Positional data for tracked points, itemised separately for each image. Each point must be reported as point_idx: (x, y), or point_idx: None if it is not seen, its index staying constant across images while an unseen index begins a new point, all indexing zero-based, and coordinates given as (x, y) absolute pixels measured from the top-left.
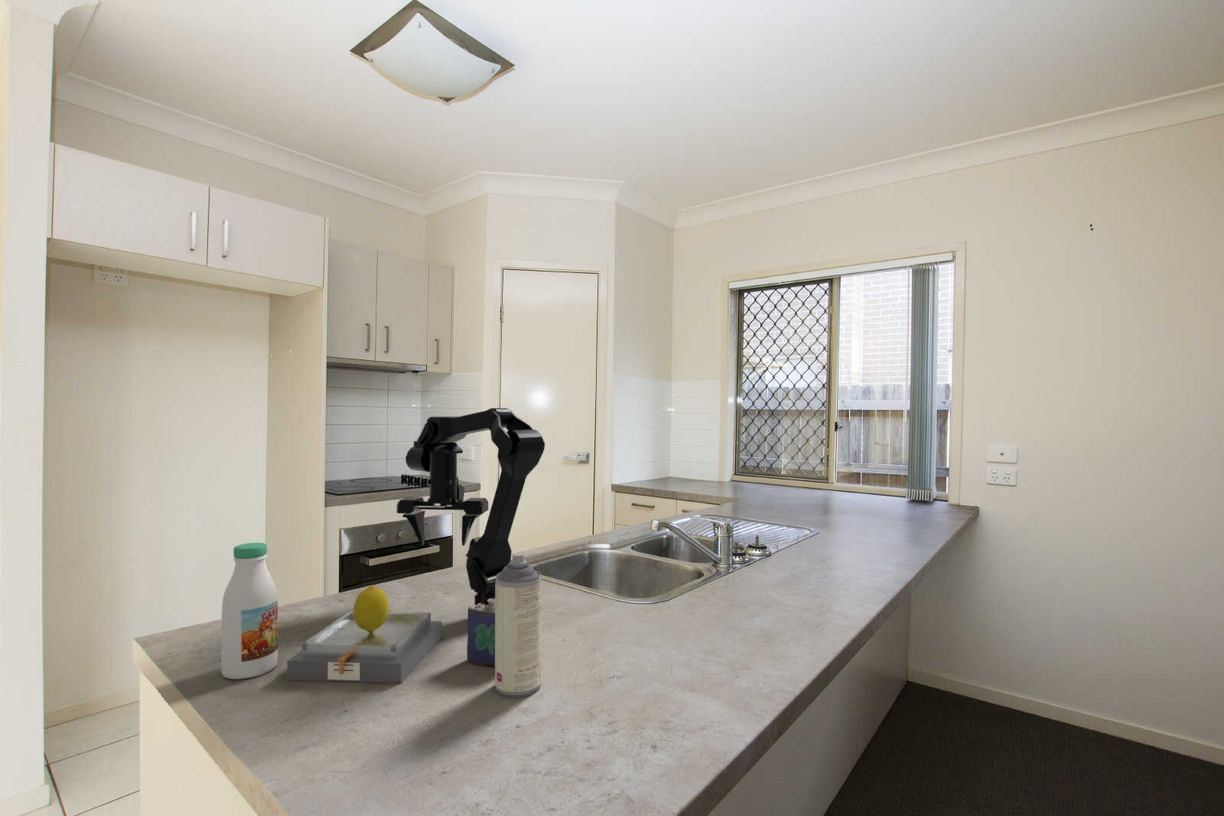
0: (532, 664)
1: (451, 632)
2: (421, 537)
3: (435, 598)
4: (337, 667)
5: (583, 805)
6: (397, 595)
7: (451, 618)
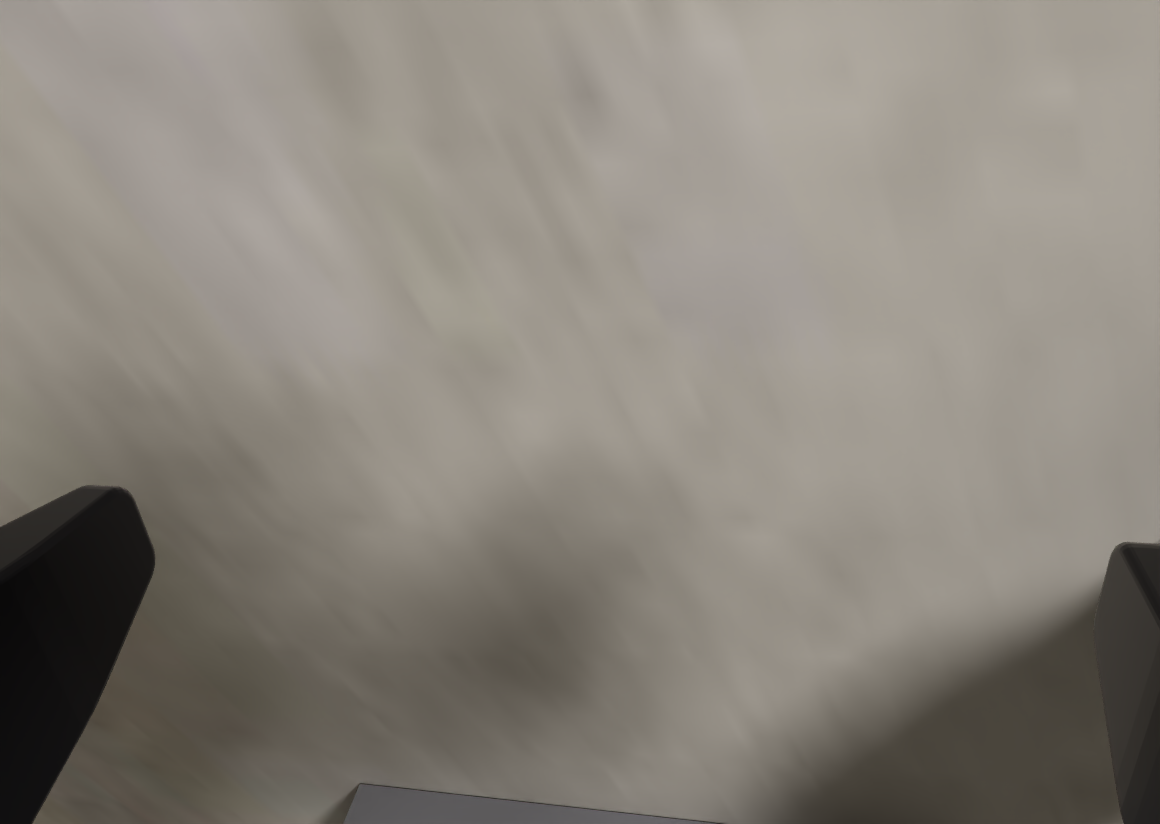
0: None
1: (1011, 790)
2: (71, 732)
3: (588, 66)
4: None
5: None
6: (113, 3)
7: (947, 580)
